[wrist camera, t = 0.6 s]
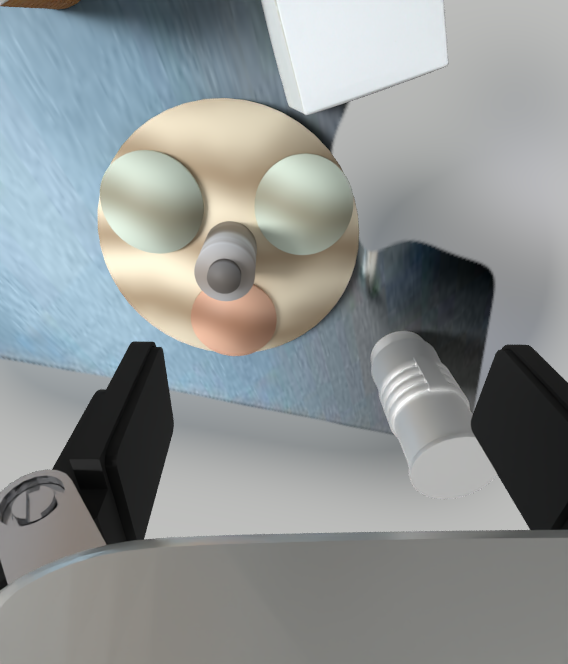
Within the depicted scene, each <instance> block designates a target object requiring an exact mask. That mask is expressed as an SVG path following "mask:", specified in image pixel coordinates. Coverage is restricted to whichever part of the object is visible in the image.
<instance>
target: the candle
mask: <svg viewBox="0 0 568 664" xmlns="http://www.w3.org/2000/svg"><path fill="white" fill-rule="evenodd" d="M371 363H372V366H371V374H372V377H373V380H374V382H375V384H376V386H377V388H378V390H379V398H380V401H381V404H382V406H383V409H384V412H385V414H386V417H387V420H388V422H389V425H390V428H391V431H392V432H393V433H394V435H395V436H396V437H397V438H398V439H399V441H400V444H401V447H402V449H403V452H404V455H405V457H406V460H407V463H408V465H409V477H410V480H411V483H412V485H413V487H414V488H415V489H416V490H417V491H418V492H420V493H421V494H423V495H425V496H428V497H431V498H436V499H452V498H459V497H462V496H467V495H469V494H472V493H474V492H476V491H478V490H480V489H482V488H483V487H485V486H486V485H488V484H489V483H490V482H491V481H492V480H493V479H494V478H495V477H496V476H497V473H496V471H495V469H494V468H493V466H492V464H491V463H490V461H489V459H488V458H487V456H486V454H485V452H484V451H483V449H482V447H481V446H480V444H479V442H478V441H477V439H476V437H475V436H474V434H473V432H472V429H471V418H472V416H473V414H472V413H471V411H470V406H469V401H468V399H467V398H466V396H465V394H464V393H463V392H462V390H461V388H460V387H459V385H458V384H457V382H456V381H455V379H454V377H453V376H452V375H451V373H450V371H449V370H448V368H447V367H446V366H445V365H443V364H442V363H441V361H440V359H439V357H438V355H437V353H436V351H435V349H434V348H433V347H432V346H431V345H430V344H429V343H427V342H425V341H424V340H423V339H422V338H421V337H420V336H419V335H418V334H415V333H413V332H409V331H397V332H393V333H390V334H388V335H386V336H384V337H383V338H381V339H380V340H379V341H378V342H377V343H376V345H375V346H374V348H373V350H372V353H371Z"/></svg>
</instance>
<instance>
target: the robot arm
mask: <svg viewBox="0 0 568 664" xmlns="http://www.w3.org/2000/svg"><path fill="white" fill-rule="evenodd" d="M173 427H174V422H173V413H172V407H171V400H170V393H169V387H168V380H167V373H166V367H165V360H164V353H163V349H162V347H156V345H155V343H154V342H132V343H131V344H130V346H129V347H128V349H127V351H126V353H125V355H124V357H123V359H122V361H121V363H120V364H119V366H118V368H117V370H116V372H115V374H114V376H113V378H112V380H111V381H110V383H109V385H108V387H107V389H106V390H98V391H97V392H96V393H95V394H94V396H93V397H92V399H91V401H90V403H89V404H88V406H87V408H86V410H85V412H84V414H83V415H82V417H81V419H80V420H79V422H78V424H77V426H76V428H75V429H74V431H73V433H72V435H71V437H70V438H69V440H68V442H67V444H66V446H65V447H64V449H63V451H62V453H61V455H60V456H59V458H58V460H57V462H56V463H55V465H54V467H53V469H52V470H41V471H35V472H32V473H30V474H27V475H24V476H22V477H20V478H19V479H17V480H15V481H14V482H12V483H10V484H9V485H8V486H7V487H6V488H4V490H2V491H1V492H0V664H568V383H567V382H566V381H565V380H564V379H563V378H562V377H561V376H560V375H559V374H558V373H557V372H556V371H555V370H554V369H553V368H552V367H551V366H550V365H549V364H548V363H547V362H546V361H545V360H544V359H543V358H542V357H541V356H540V355H539V354H538V353H537V352H536V351H535V350H534V349H533V348H532V347H531V346H529V345H505V346H504V347H503V348H502V350H498V351H497V353H496V354H495V357H494V360H493V362H492V365H491V368H490V370H489V373H488V376H487V378H486V381H485V384H484V386H483V389H482V392H481V394H480V397H479V400H478V402H477V405H476V408H475V410H474V413H473V416H472V418H471V429H472V432H473V434H474V436H475V437H476V439H477V441H478V442H479V444H480V446H481V447H482V449H483V451H484V452H485V454H486V456H487V458H488V459H489V461H490V463H491V464H492V466H493V468H494V469H495V471H496V473H497V474H498V476H499V478H500V479H501V481H502V483H503V484H504V486H505V488H506V489H507V491H508V493H509V495H510V496H511V498H512V499H513V501H514V503H515V505H516V506H517V508H518V510H519V511H520V513H521V515H522V516H523V518H524V520H525V521H526V523H527V525H528V526H529V528H530V530H499V531H497V530H495V531H419V532H357V533H356V532H353V533H303V534H254V535H222V536H196V537H195V536H194V537H170V538H157V539H146V540H144V537H145V533H146V529H147V526H148V522H149V518H150V515H151V511H152V507H153V504H154V500H155V496H156V493H157V489H158V485H159V482H160V478H161V474H162V470H163V467H164V463H165V459H166V456H167V452H168V448H169V444H170V441H171V437H172V434H173Z"/></svg>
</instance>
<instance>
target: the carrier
mask: <svg viewBox="0 0 568 664" xmlns="http://www.w3.org/2000/svg"><path fill="white" fill-rule="evenodd" d="M98 232H99V239H100V246H101V249H102V252H103V256H104V259H105V262H106V265H107V267H108V269H109V272H110V274H111V276H112V278H113V280H114V282H115V283H116V285H117V287H118V288H119V290H120V292H121V293H122V294H123V296H124V297H125V298H126V300H127V301H128V302H129V304H130V305H131V306H132V307H133V308H134V309H135V310H136V311H137V312H138V313H139V314H140V315H141V316H142V317H143V318H145V319H146V320H147V321H148V322H149V323H151V324H152V325H153V326H155V327H156V328H158V329H159V330H161V331H162V332H164V333H165V334H167V335H169V336H171V337H173V338H175V339H176V340H178V341H181V342H183V343H186V344H188V345H191V346H194V347H198V348H201V349H205V350H210V351H215V352H217V353H220V354H224V355H229V356H242V355H247V354H251V353H253V352H256V351H262V350H266V349H270V348H274V347H277V346H280V345H282V344H285V343H287V342H290V341H292V340H294V339H296V338H297V337H299V336H301V335H303V334H304V333H306V332H307V331H309V330H310V329H311V328H313V327H314V326H316V325H317V324H318V323H319V322H320V321H321V320H322V319H323V318H324V317H325V316H326V315H327V314H328V313H329V312H330V311H331V309H332V308H333V307H334V306H335V305H336V303H337V302H338V300H339V299H340V297H341V296H342V294H343V293H344V291H345V289H346V287H347V284H348V282H349V280H350V278H351V275H352V272H353V269H354V266H355V263H356V257H357V252H358V244H359V224H358V214H357V209H356V204H355V200H354V196H353V193H352V189H351V186H350V183H349V181H348V180H347V178H346V176H345V174H344V173H343V171H342V169H341V167H340V165H339V164H338V162H337V161H336V159H335V158H334V157H333V155H332V154H331V152H330V151H329V150H328V149H327V147H326V146H325V145H324V144H323V143H322V142H321V141H320V140H319V139H318V138H317V137H316V136H315V135H314V134H313V133H312V132H310V131H309V130H308V129H307V128H305V127H304V126H303V125H302V124H300V123H299V122H298V121H296V120H294V119H293V118H291V117H289V116H287V115H286V114H284V113H282V112H280V111H278V110H275V109H273V108H270V107H268V106H266V105H263V104H259V103H255V102H251V101H247V100H239V99H230V98H218V99H204V100H199V101H194V102H189V103H184V104H182V105H179V106H176V107H174V108H171V109H168V110H166V111H164V112H162V113H161V114H159V115H157V116H155V117H154V118H152V119H150V120H149V121H147V122H146V123H145V124H144V125H142V126H141V127H140V128H139V129H137V130H136V131H135V132H134V133H133V134H132V135H131V136H130V137H129V138H128V140H127V141H126V142H125V143H124V144H123V145H122V146H121V148H120V150H119V151H118V153H117V154H116V156H115V157H114V159H113V160H112V162H111V164H110V166H109V167H108V169H107V170H106V172H105V174H104V176H103V178H102V182H101V187H100V198H99V205H98Z"/></svg>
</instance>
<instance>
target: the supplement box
mask: <svg viewBox="0 0 568 664" xmlns="http://www.w3.org/2000/svg"><path fill="white" fill-rule="evenodd" d="M261 2H262V6H263V10H264V14H265V19H266V23H267V27H268V31H269V35H270V39H271V43H272V47H273V50H274V54H275V58H276V62H277V66H278V69H279V73H280V77H281V80H282V84H283V87H284V91H285V95H286V98H287V102H288V105H289V106H290V107H291V108H293V109H295V110H297V111H299V112H301V113H303V114H305V115H309V114H313V113H316V112H319V111H323V110H326V109H329V108H332V107H335V106H338V105H341V104H344V103H347V102H350V101H353V100H355V99H358V98H361V97H364V96H367V95H370V94H373V93H376V92H378V91H381V90H384V89H387V88H390V87H392V86H395V85H398V84H400V83H403V82H406V81H409V80H412V79H414V78H417V77H420V76H422V75H425V74H428V73H430V72H433V71H435V70H438V69H441V68H443V67H445V66H447V65H448V63H449V62H448V51H447V37H446V25H445V12H444V0H261Z"/></svg>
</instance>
